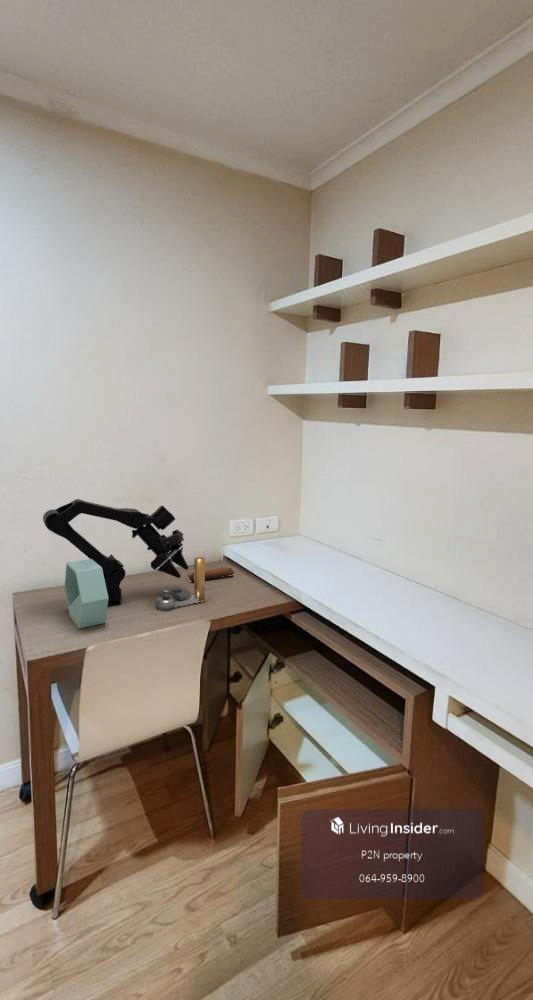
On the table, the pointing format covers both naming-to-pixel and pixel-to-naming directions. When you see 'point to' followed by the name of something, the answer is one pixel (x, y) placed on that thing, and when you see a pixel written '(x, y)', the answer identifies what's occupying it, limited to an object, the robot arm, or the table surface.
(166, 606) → the link
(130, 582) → the table surface
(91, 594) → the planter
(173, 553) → the robot arm
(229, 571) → the sunglasses case
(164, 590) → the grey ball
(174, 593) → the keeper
